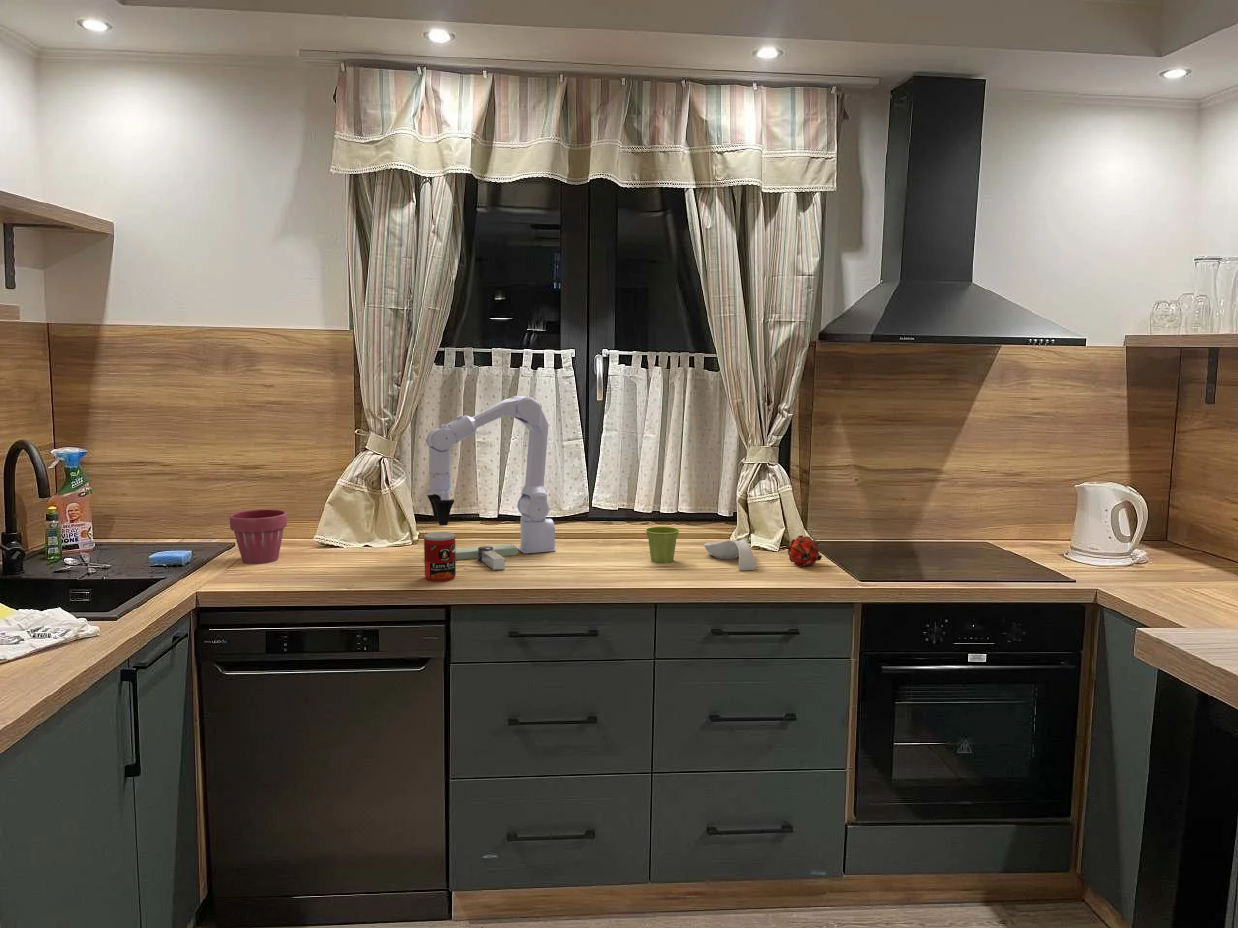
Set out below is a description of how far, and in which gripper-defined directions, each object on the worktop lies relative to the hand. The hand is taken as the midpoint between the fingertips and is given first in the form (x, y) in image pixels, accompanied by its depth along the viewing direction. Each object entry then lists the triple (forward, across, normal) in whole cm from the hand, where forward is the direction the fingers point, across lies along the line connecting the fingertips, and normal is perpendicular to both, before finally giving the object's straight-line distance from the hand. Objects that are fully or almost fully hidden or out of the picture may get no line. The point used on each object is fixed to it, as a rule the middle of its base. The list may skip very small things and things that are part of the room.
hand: (441, 522), depth 252 cm
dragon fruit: (+11, +38, +91) cm, 99 cm away
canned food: (+10, +21, -4) cm, 24 cm away
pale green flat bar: (+10, 0, +9) cm, 13 cm away
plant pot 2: (+10, +21, +56) cm, 61 cm away
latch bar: (+10, +11, +11) cm, 18 cm away
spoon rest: (+11, +27, +75) cm, 80 cm away
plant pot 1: (+10, -14, -46) cm, 49 cm away
